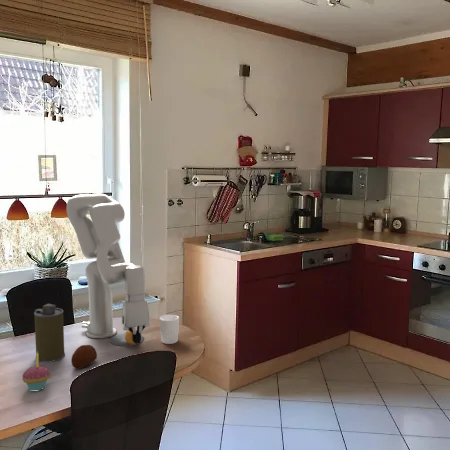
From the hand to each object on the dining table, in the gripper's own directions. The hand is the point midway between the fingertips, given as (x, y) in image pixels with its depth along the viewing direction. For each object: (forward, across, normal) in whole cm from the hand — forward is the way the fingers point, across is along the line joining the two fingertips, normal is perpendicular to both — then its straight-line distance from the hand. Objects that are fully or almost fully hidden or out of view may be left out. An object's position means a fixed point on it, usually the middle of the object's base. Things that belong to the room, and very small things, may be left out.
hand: (136, 342), depth 199 cm
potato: (+2, +22, +7) cm, 23 cm away
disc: (+2, 0, -10) cm, 10 cm away
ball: (-1, 0, -5) cm, 5 cm away
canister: (+2, +32, -8) cm, 33 cm away
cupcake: (+3, +41, +17) cm, 44 cm away
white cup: (+3, -14, -1) cm, 14 cm away
